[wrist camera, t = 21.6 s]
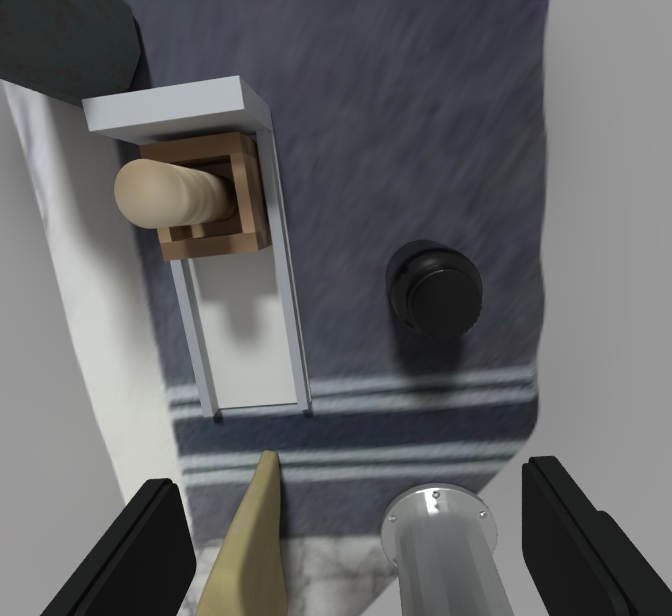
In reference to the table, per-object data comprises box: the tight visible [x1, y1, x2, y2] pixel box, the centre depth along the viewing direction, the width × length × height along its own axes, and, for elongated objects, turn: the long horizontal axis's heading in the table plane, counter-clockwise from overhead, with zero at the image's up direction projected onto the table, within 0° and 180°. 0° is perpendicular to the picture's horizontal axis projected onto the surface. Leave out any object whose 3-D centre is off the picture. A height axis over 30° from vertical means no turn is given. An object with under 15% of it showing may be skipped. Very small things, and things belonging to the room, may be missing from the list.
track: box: [82, 76, 312, 417], centre depth 34 cm, size 28×11×9 cm, turn 7°
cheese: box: [195, 450, 288, 616], centre depth 39 cm, size 22×10×15 cm, turn 171°
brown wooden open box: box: [138, 131, 272, 261], centre depth 33 cm, size 9×8×5 cm
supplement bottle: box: [386, 240, 483, 339], centre depth 31 cm, size 7×7×12 cm
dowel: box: [114, 159, 239, 229], centre depth 29 cm, size 4×4×12 cm
